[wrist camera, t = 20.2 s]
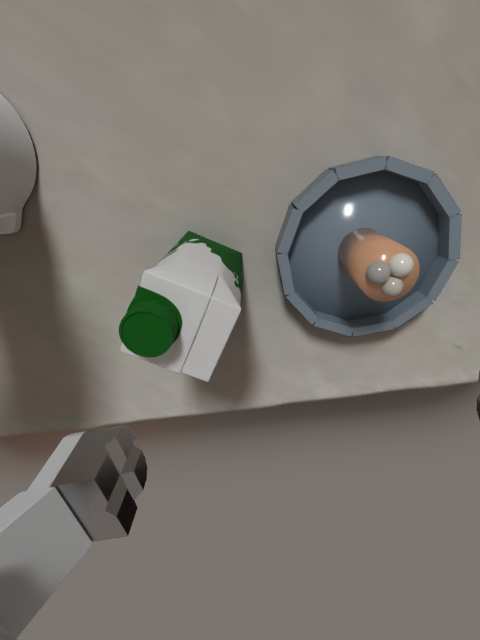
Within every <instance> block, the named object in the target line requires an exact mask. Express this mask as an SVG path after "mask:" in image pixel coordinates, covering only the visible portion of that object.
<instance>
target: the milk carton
mask: <svg viewBox="0 0 480 640" xmlns="http://www.w3.org/2000/svg"><path fill="white" fill-rule="evenodd" d="M241 290H242V253H240V252H238V251H235V250H233V249H231V248H228V247H226V246H223V245H221V244H219V243H216V242H214V241H212V240H209V239H207V238H204V237H202V236H200V235H197V234H195V233H193V232H190V231H188V232H187V233H186V234H185V235H184V236H183V238H182V239H181V240H180V241H179V242H178V243H177V244H176V245H175V246H174V247H173V248H172V249H171V250H170V252H169V253H168V254H167V255H166V256H165V257H164V258H163V259H162V260H161V261H160V263H159V264H158V265H157V266H156V267H153V268H150V269H147V270H145V271H144V273H143V276H142V280H141V283H140V286H138V288H137V291H136V294H135V297H134V299H133V300H132V302H131V303H130V305H129V308H128V310H127V313H126V315H125V316H124V317H123V319H122V320H121V323H120V326H119V335H120V338H121V341H122V346H121V349H120V350H121V352H123V353H126V354H129V355H131V356H134V357H137V358H139V359H142V360H145V361H148V362H150V363H153V364H156V365H158V366H161V367H164V368H167V369H168V370H170V371H173V372H176V373H180V372H181V373H184V374H187V375H190V376H192V377H195V378H198V379H201V380H204V381H206V382H208V381H209V379H210V377H211V375H212V373H213V371H214V369H215V366H216V364H217V362H218V360H219V358H220V356H221V354H222V352H223V350H224V347H225V345H226V343H227V341H228V339H229V337H230V334H231V332H232V330H233V328H234V326H235V323H236V321H237V319H238V317H239V314H240V312H241V307H240V304H241Z"/></svg>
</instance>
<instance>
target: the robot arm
mask: <svg viewBox="0 0 480 640" xmlns="http://www.w3.org/2000/svg"><path fill="white" fill-rule="evenodd" d="M35 179H36V156H35V151H34V147H33V143H32V140H31V138H30V135H29V133H28V131H27V128H26V126H25V125H24V123H23V121H22V119H21V118H20V116H19V115H18V113H17V112H16V111H15V109H14V108H13V107H12V106H11V104H10V103H9V102H8V101H7V100H6V99H5V98H4V97H3V96H2V95H1V94H0V234H12V233H16V232H18V231H19V229H20V227H21V221H22V209H23V207H24V205H25V203H26V201H27V200H28V198H29V196H30V194H31V192H32V190H33V187H34V184H35ZM478 382H479V383H480V371H479V379H478ZM477 413H478V416H479V420H480V395H479V396H478V397H477ZM134 439H135V436H134V434H133V432H132V430H131V428H130V427H128V426H118V427H111V428H103V429H96V430H89V431H84V432H78V433H71V434H69V435H67V436H65V437H64V438H63V439H62V441H61V442H60V443H59V445H58V446H57V448H56V449H55V451H54V452H53V454H52V455H51V456H50V458H49V459H48V461H47V462H46V464H45V465H44V467H43V468H42V469H41V471H40V473H39V474H38V475H37V477H36V478H35V480H34V481H33V483H32V484H31V485H30V487H29V488H28V490H27V491H24V492H20V493H18V494H17V495H16V496H14V498H12V499H11V500H9V501H8V502H7V503H5V504H4V505H3V506H2V507H0V640H17V639H16V638H17V637H18V636H19V635H20V633H21V632H22V631H23V630H24V628H25V627H26V626H27V625H28V623H29V622H30V621H31V620H32V618H33V617H34V616H35V615H36V614H37V612H38V611H39V610H40V609H41V607H42V606H43V605H44V604H45V602H46V601H47V600H48V599H49V597H50V596H51V595H52V594H53V592H54V591H55V590H56V589H57V587H58V586H59V585H60V584H61V583H62V581H63V580H64V579H65V578H66V576H67V575H68V574H69V573H70V571H71V570H72V569H73V568H74V566H75V565H76V564H77V563H78V562H79V560H80V559H81V558H82V557H83V555H84V554H85V553H86V552H87V550H88V549H89V548H90V547H91V545H92V544H93V543H92V542H93V541H99V540H106V539H112V538H119V537H125V536H128V534H129V532H130V529H131V526H132V522H133V519H134V517H135V514H136V511H137V506H136V503H135V500H134V499H135V498H136V497H137V496H138V495H139V494H140V493H141V492H142V491H143V489H144V486H145V483H146V480H147V479H146V478H147V464H146V459H145V456H144V454H143V452H142V450H141V449H139V448H137V447H136V446H134V445H133V442H134Z"/></svg>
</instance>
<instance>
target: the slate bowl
mask: <svg viewBox="0 0 480 640" xmlns="http://www.w3.org/2000/svg"><path fill="white" fill-rule="evenodd" d="M433 173H434V171H431V170H428V169H425V168H422V167H419V166H416V165H414V164H411V163H408V162H405V161H402V160H399V159H396V158H394V157H391V156H375V157H371V158H367V159H363V160H359V161H355V162H351V163H347V164H343V165H339V166H335V167H331V168H329V170H325V171H324V172H323V173H322V174H321V175H319V176H318V177H317V178H316V179H315V180H314V181H313V182H312V183H311V184H310V185H309V186H308V187H307V188H306V189H304V190H303V191H302V192H301V193H300V194H299V195H298V196H297V197H296V198H295V199H294V200H293V201H292V203H293V205H290V204H289V207H288V210H287V213H286V216H285V219H284V222H283V225H282V228H281V230H280V233H279V236H278V239H277V242H276V245H275V246H276V248H275V250H276V255H277V260H278V265H279V271H280V276H281V281H282V286H283V290H284V294H285V295H286V298H287V299H288V300H289V301H290V302H291V303H292V304H293V305H294V306H295V307H296V309H297V310H298V311H299V312H300V313H301V314H302V315H303V316H304V317H305V318H306V319H307V320H308V321H309V322H310V323H311V324H313V325H314V326H315V327H319V328H322V329H326V330H329V331H333V332H336V333H340V334H343V335H347V336H350V337H351V335H353V337H355V336H361V335H366V334H371V333H377V332H382V331H387V330H393V329H394V326H395V327H396V328H398V327H399V326H401V325H402V324H404V323H405V322H406V321H408V320H409V319H411V318H412V317H414V316H415V315H417V314H418V313H419V312H421V311H422V310H424V309H425V308H427V307H428V306H430V305H431V304H433V302H432V301H431V300H434V301H436V299H437V297H438V296H439V294H440V292H441V291H442V289H443V287H444V286H445V284H446V282H447V281H448V279H449V277H450V276H451V274H452V272H453V271H454V269H455V267H456V266H457V264H458V261H456V259H460V240H461V216H462V214H459V212H460V211H461V210H460V209H459V207H458V206H457V204H456V203H455V201H454V200H453V198H452V197H451V195H450V193H449V192H448V190H447V189H446V187H445V186H444V184H443V183H442V181H441V179H440V178H439V176H438V175H437V174H433ZM360 228H370V229H373V230H375V231H377V232H379V233H381V234H383V235H385V236H386V237H388V238H390V239H392V240H394V241H395V242H397V243H399V244H401V245H403V246H405V247H406V248H408V249H410V250H411V251H412V252H413V253H414V254H415V255H416V257H417V259H418V261H419V267H420V270H419V276H418V279H417V281H416V283H415V285H414V286H413V287H412V289H411V290H410V291H409V292H408V293H406V294H405V295H404V296H402V297H400V298H398V299H396V300H392V301H387V302H382V301H376V300H373V299H371V298H369V297H368V296H367V295H366V294H365V293H364V292H363V291H362V290H361V289H360V287H359V286H358V285H357V284H356V283H355V282H354V280H353V279H352V278H351V277H350V276H349V275H348V273H347V272H346V271H345V270H344V269H343V268H342V266H341V265H340V263H339V260H338V249H339V246H340V243H341V242H342V240H343V239H344V238H345V236H346V235H348V234H349V233H350V232H352V231H354V230H356V229H360ZM430 299H431V300H430Z"/></svg>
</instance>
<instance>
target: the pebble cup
mask: <svg viewBox="0 0 480 640" xmlns="http://www.w3.org/2000/svg"><path fill="white" fill-rule="evenodd" d="M338 260H339V263H340V265H341V266H342V268H343V269H344V270H345V271H346V272H347V273H348V275H349V276H350V277H351V278H352V279H353V280H354V282H355V283H356V284H357V285H358V286H359V287H360V289H361V290H362V291H363V292H364V293H365V294H366V295H367V296H368V297H369V298H371V299H373V300H376V301H382V302H387V301H392V300H396V299H398V298H400V297H402V296H404V295H405V294H406V293H408V292H409V291H410V290H411V289H412V287H413V286H414V285H415V283H416V281H417V279H418V276H419V270H420V267H419V261H418V259H417V257H416V255H415V254H414V253H413V252H412V251H411V250H410V249H408V248H406V247H405V246H403V245H401V244H399V243H397V242H395V241H394V240H392V239H390V238H388V237H386V236H385V235H383V234H381V233H379V232H377V231H375V230H373V229H370V228H360V229H356V230H354V231H352V232H350V233H349V234H348V235H346V236H345V238H344V239H343V240H342V242H341V243H340V246H339V249H338Z"/></svg>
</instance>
